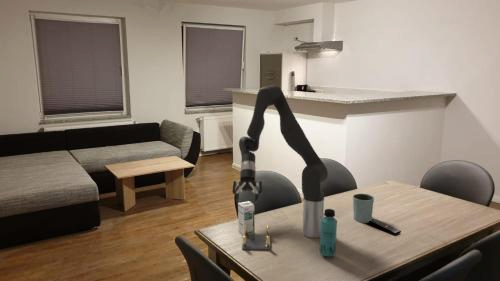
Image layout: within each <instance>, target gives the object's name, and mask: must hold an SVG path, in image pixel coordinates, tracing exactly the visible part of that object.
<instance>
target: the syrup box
mask: <svg viewBox="0 0 500 281" xmlns="http://www.w3.org/2000/svg"><path fill="white" fill-rule="evenodd" d="M237 214H238V216H237V218H238V224H237V225H238V232H239V234H241V235H242V237H243V236H244V226H245V225H247V234H255V226H256V225H255V204H254V203H253V202H252V201H249V200H247V201H244V202H243V201H242V202H237Z"/></svg>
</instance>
